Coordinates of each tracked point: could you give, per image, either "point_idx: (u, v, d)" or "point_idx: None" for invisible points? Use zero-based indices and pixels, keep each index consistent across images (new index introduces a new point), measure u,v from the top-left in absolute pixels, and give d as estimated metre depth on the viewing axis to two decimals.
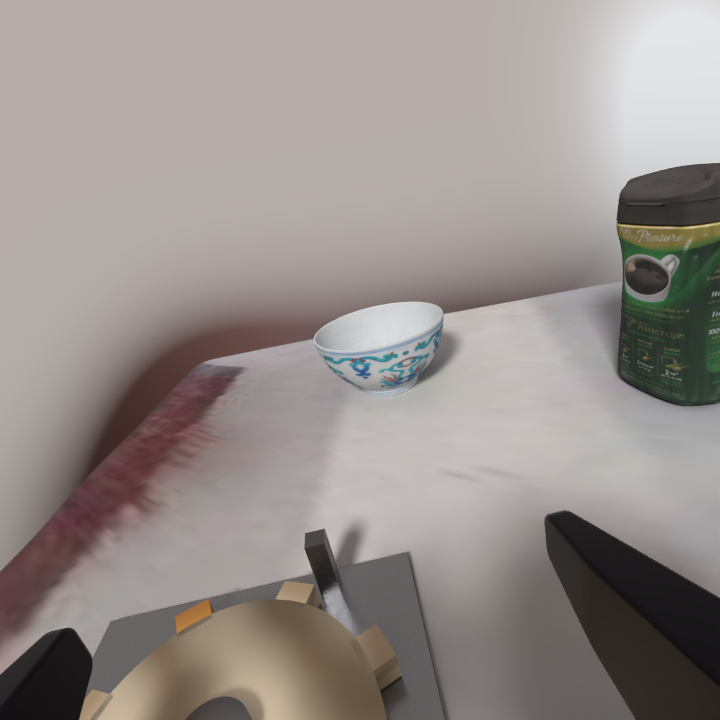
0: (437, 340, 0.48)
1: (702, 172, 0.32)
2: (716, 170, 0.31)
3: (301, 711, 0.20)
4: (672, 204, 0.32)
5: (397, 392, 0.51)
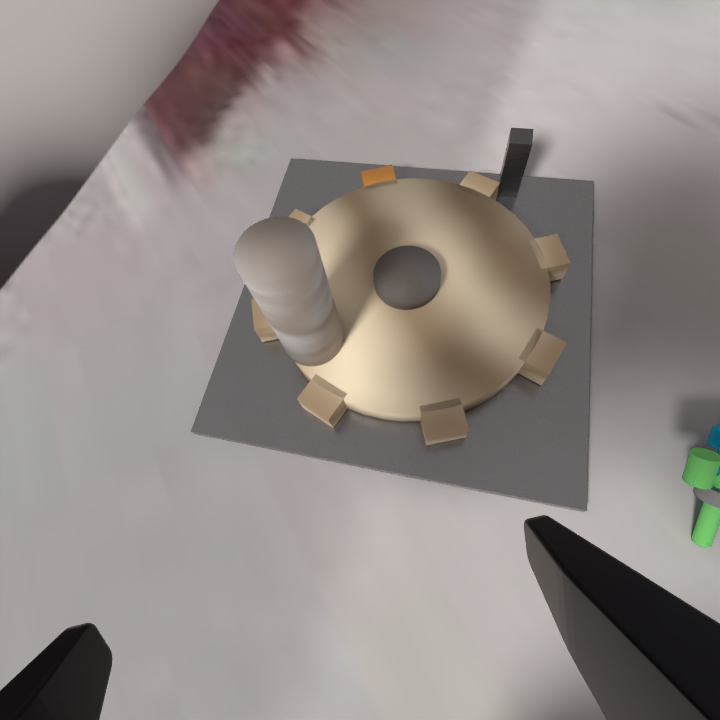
0: None
1: None
2: None
3: (479, 276, 0.24)
4: None
5: None
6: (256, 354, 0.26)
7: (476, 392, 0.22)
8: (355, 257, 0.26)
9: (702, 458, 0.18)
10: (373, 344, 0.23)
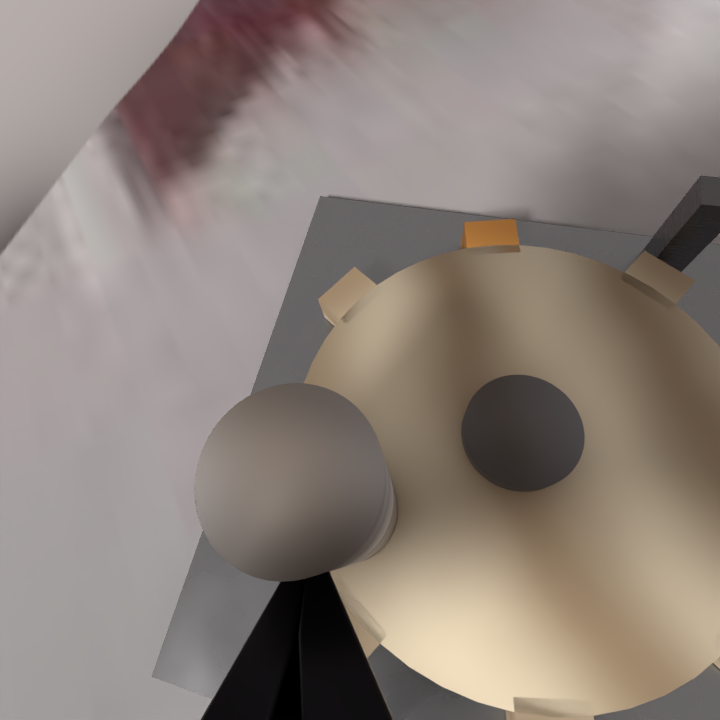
0: None
1: None
2: None
3: (647, 453, 0.14)
4: None
5: None
6: None
7: (623, 697, 0.12)
8: (436, 371, 0.16)
9: None
10: (444, 544, 0.14)
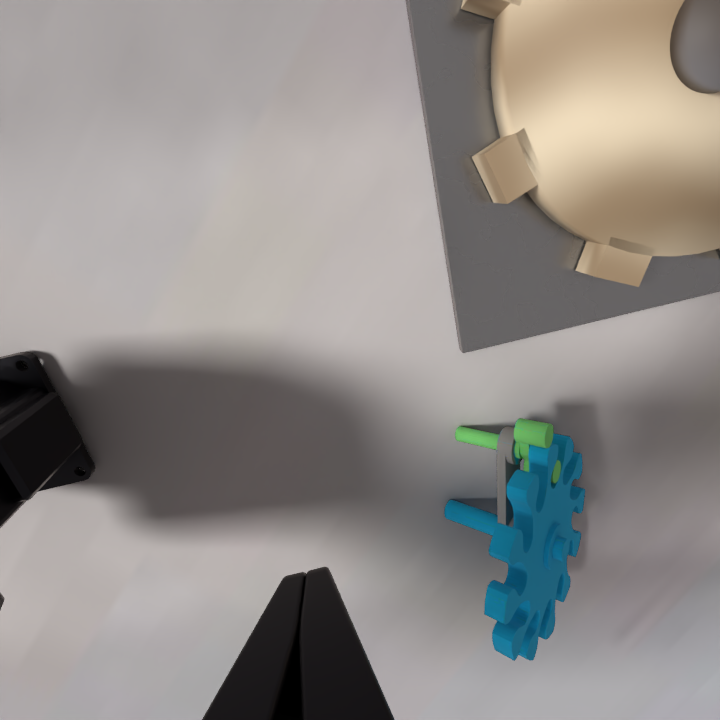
0: None
1: None
2: None
3: (654, 149, 0.16)
4: None
5: None
6: None
7: (514, 36, 0.15)
8: None
9: (545, 434, 0.18)
10: None
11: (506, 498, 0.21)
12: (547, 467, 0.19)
